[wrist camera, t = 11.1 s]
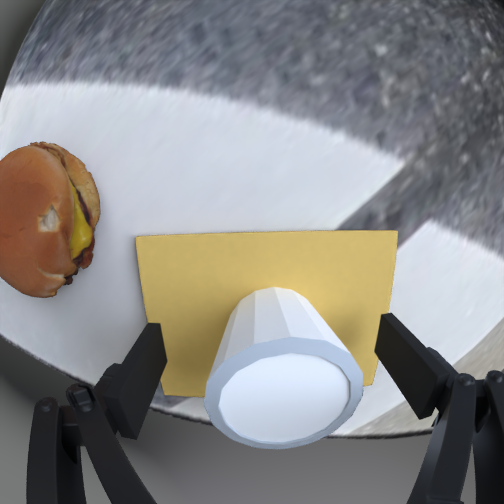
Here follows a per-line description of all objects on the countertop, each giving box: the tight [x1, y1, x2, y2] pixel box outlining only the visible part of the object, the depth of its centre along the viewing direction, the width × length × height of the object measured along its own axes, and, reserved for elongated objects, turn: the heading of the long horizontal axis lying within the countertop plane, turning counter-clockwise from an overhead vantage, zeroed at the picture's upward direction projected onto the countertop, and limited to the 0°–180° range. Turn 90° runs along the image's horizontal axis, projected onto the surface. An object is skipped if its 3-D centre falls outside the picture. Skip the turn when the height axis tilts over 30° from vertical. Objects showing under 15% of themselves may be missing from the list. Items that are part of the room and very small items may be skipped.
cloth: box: [135, 230, 398, 397], centre depth 17 cm, size 16×12×1 cm
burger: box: [0, 142, 100, 298], centre depth 13 cm, size 10×9×5 cm
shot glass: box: [204, 287, 363, 449], centre depth 14 cm, size 7×7×7 cm
